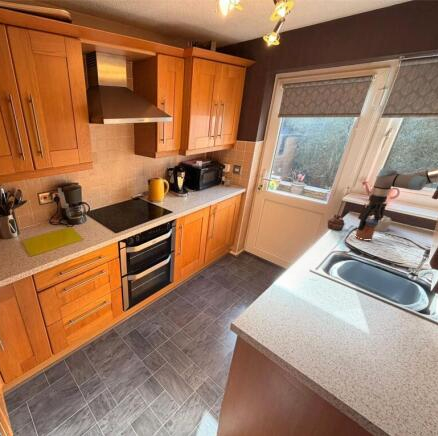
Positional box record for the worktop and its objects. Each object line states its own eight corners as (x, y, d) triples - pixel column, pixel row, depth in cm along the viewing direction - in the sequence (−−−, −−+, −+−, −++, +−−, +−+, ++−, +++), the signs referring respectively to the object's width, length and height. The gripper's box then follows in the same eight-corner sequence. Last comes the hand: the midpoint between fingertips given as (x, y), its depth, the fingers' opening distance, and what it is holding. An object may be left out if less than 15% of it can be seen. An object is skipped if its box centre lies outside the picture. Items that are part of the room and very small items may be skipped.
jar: (374, 240, 146) (380, 223, 142) (365, 242, 144) (371, 225, 140) (360, 235, 154) (366, 219, 149) (351, 236, 152) (357, 220, 147)
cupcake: (344, 232, 158) (349, 218, 154) (327, 230, 162) (331, 216, 158) (340, 227, 166) (345, 214, 162) (324, 225, 170) (328, 212, 166)
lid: (379, 224, 144) (380, 221, 143) (375, 226, 140) (376, 224, 139) (362, 220, 150) (363, 217, 149) (358, 222, 146) (359, 220, 145)
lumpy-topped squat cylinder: (387, 227, 165) (392, 216, 162) (387, 233, 156) (392, 221, 153) (368, 223, 171) (372, 212, 168) (367, 228, 163) (371, 217, 159)
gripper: (386, 192, 143) (373, 225, 152) (358, 194, 140) (346, 228, 148) (400, 195, 136) (386, 230, 145) (371, 197, 133) (358, 233, 142)
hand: (366, 229), depth 147 cm, fingers closed on lid, 8 cm apart
